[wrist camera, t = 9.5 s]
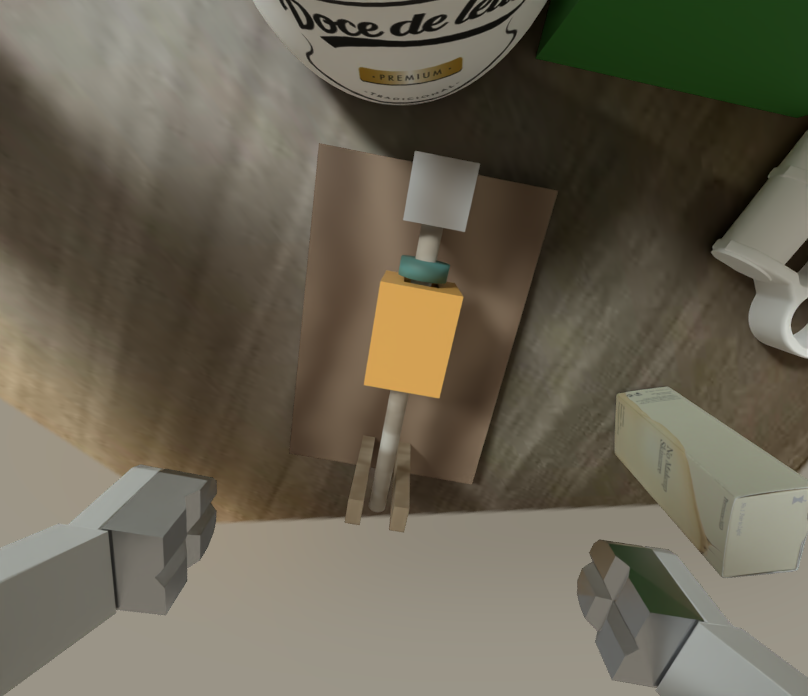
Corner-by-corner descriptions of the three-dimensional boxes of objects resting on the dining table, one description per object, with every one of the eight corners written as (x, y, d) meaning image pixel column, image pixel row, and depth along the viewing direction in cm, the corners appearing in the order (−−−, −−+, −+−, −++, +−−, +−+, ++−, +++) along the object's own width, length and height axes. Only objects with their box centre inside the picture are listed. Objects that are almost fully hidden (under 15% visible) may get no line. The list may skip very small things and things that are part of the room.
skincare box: (614, 391, 31) (731, 493, 20) (670, 384, 31) (822, 483, 19) (613, 455, 33) (719, 581, 22) (665, 449, 33) (801, 574, 21)
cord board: (294, 443, 34) (253, 519, 25) (324, 147, 26) (279, 112, 17) (469, 473, 34) (487, 557, 26) (550, 192, 26) (615, 179, 18)
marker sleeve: (371, 357, 26) (363, 385, 21) (386, 270, 24) (380, 281, 19) (435, 369, 26) (439, 398, 22) (454, 283, 24) (463, 296, 20)
